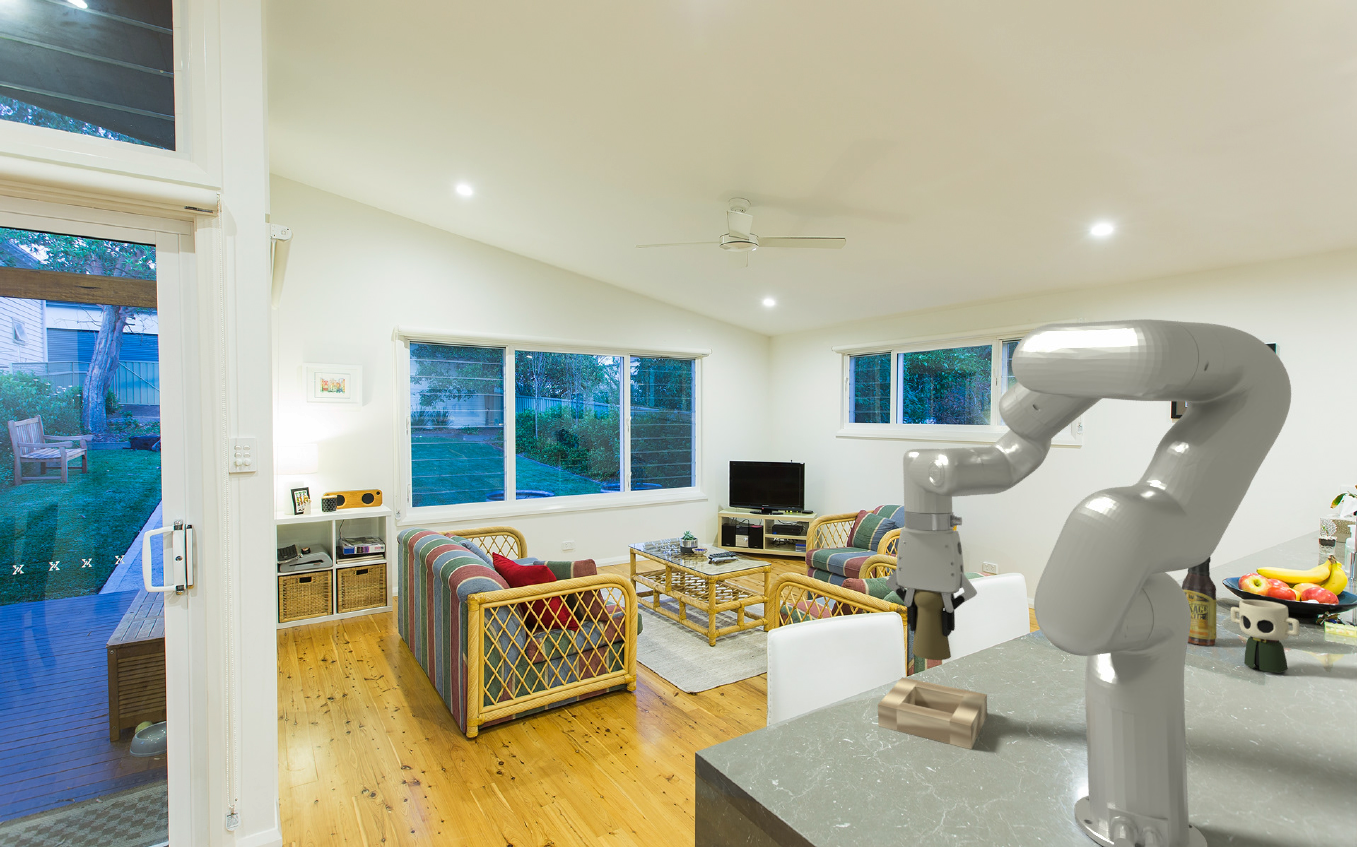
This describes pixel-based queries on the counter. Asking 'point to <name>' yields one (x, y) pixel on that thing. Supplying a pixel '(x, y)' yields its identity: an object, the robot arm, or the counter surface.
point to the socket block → (934, 712)
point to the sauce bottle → (1201, 604)
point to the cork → (930, 627)
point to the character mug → (1265, 633)
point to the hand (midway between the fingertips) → (930, 630)
